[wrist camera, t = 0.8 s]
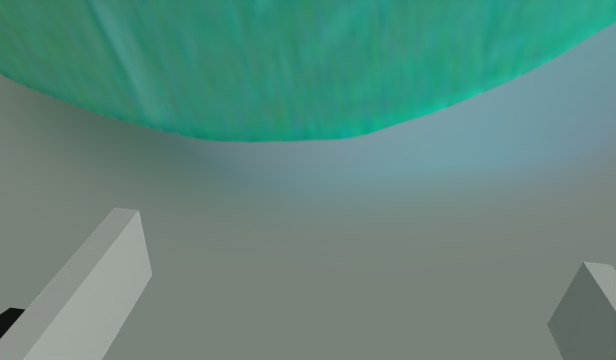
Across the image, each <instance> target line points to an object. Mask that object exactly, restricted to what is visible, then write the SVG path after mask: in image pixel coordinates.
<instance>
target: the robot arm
mask: <svg viewBox="0 0 616 360" xmlns="http://www.w3.org/2000/svg"><path fill="white" fill-rule="evenodd" d="M151 276H152V272H151V267H150V262H149V257H148V252H147V248H146V243H145V238H144V233H143V228H142V224H141V219H140V214H139V210H132V209H123V208H114V209H113V210H112V211H111V212H110V214H109V215H108V216H107V217H106V218H105V219H104V220H103V221H102V223H101V224H100V225H99V226H98V227H97V228H96V230H95V231H94V232H93V233H92V234H91V235H90V236H89V238H88V239H87V240H86V241H85V242H84V243H83V244H82V246H81V247H80V248H79V249H78V250H77V252H76V253H75V254H74V255H73V256H72V257H71V258H70V259H69V261H68V262H67V263H66V264H65V265H64V266H63V268H62V269H61V270H60V271H59V272H58V273H57V275H56V276H55V277H54V278H53V279H52V280H51V281H50V282H49V284H48V285H47V286H46V287H45V288H44V289H43V291H42V292H41V293H40V294H39V295H38V296H37V298H36V299H35V300H34V301H33V302H32V303H31V305H30V306H29V307H28V308H27V309H26V310H24V309H16V308H9V309H8V310H6V311H5V312H3V313H2V314H0V360H102V358H103V357H104V355H105V353H106V352H107V350H108V348H109V347H110V345H111V343H112V342H113V340H114V338H115V337H116V335H117V333H118V332H119V330H120V328H121V326H122V324H123V323H124V321H125V320H126V318H127V316H128V315H129V313H130V311H131V309H132V308H133V306H134V305H135V303H136V301H137V300H138V298H139V296H140V294H141V293H142V291H143V289H144V288H145V286H146V284H147V283H148V281H149V279H150V278H151ZM547 325H548V327H549V329H550V332H551V334H552V336H553V338H554V340H555V342H556V344H557V346H558V349H559V351H560V353H561V355H562V357H563V359H564V360H616V271H615V270H614V268H613V267H612V266H611V265H607V264H598V263H589V262H583V263H582V265H581V267H580V268H579V270H578V272H577V274H576V276H575V277H574V279H573V281H572V282H571V284H570V286H569V288H568V289H567V291H566V293H565V295H564V296H563V298H562V300H561V302H560V303H559V305H558V307H557V309H556V310H555V313H554V314H553V316H552V317H551V319H550V321H549V323H548V324H547Z"/></svg>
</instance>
